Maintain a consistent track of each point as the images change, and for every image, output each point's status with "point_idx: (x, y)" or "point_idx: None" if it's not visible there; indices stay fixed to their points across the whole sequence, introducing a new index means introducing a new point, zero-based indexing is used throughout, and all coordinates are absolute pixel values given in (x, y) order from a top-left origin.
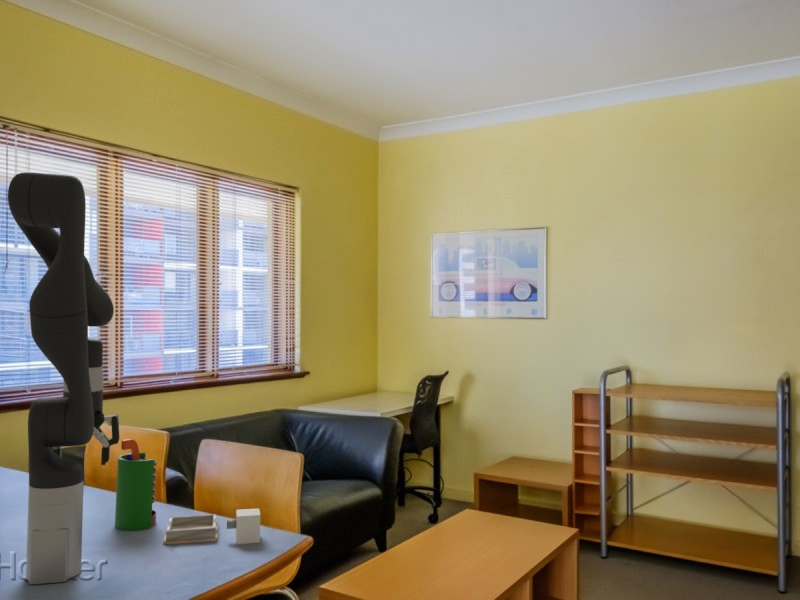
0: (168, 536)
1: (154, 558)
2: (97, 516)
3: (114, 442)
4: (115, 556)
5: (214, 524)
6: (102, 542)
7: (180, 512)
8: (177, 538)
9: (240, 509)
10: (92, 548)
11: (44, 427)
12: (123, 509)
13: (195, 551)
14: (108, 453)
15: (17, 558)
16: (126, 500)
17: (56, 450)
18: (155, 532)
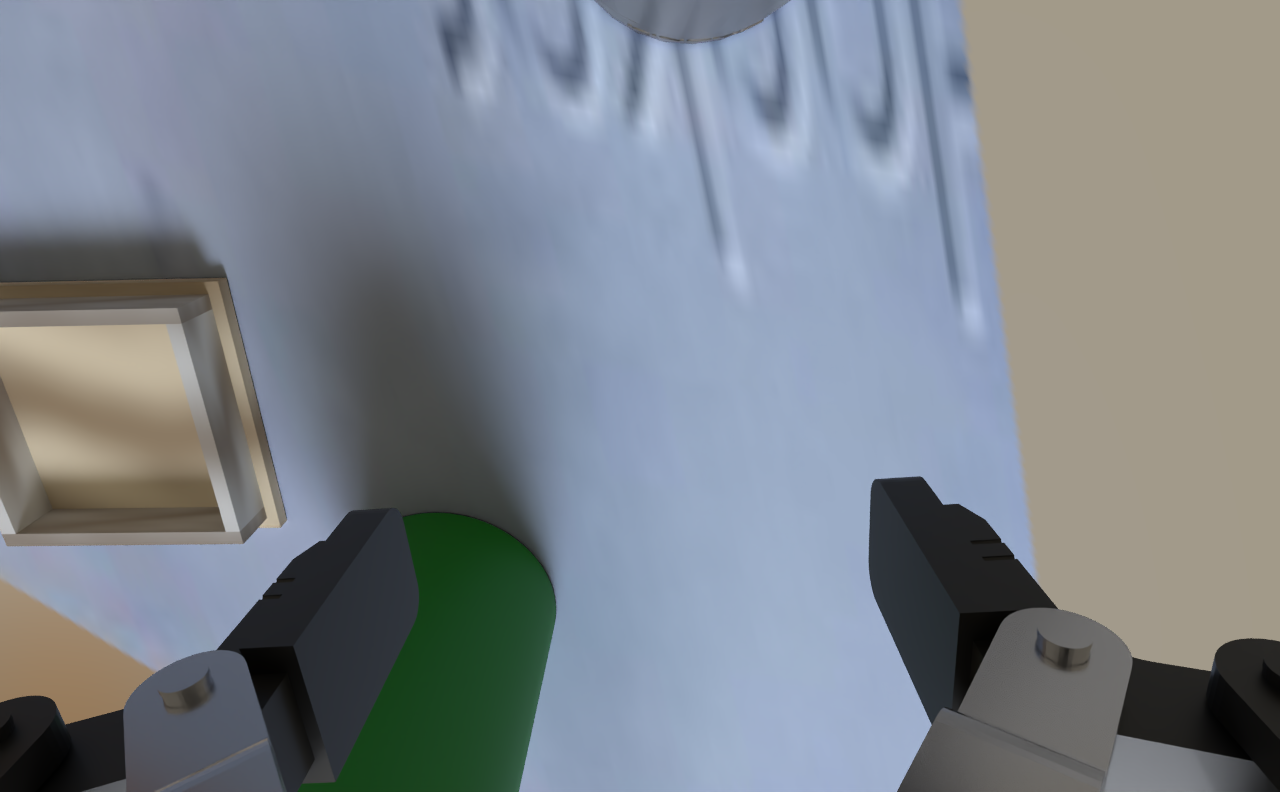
0: (182, 299)
1: (200, 59)
2: (666, 723)
3: (17, 717)
4: (427, 137)
5: None
6: (554, 370)
7: None
8: (145, 297)
9: None
10: (582, 289)
11: None
12: (475, 593)
13: (9, 134)
14: (254, 613)
15: (933, 207)
16: (444, 622)
17: (1013, 603)
18: (328, 468)
